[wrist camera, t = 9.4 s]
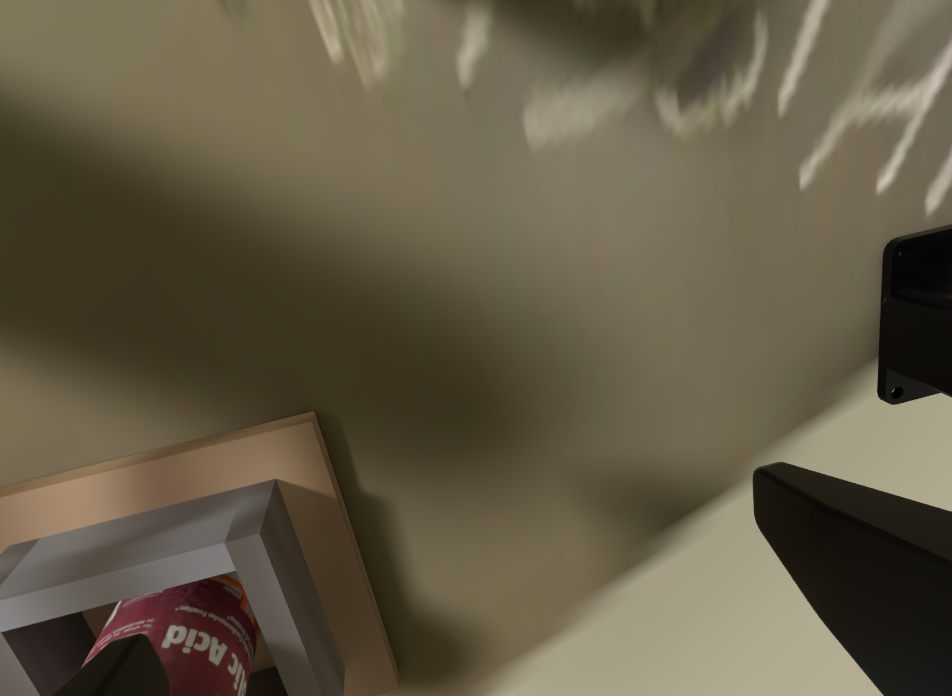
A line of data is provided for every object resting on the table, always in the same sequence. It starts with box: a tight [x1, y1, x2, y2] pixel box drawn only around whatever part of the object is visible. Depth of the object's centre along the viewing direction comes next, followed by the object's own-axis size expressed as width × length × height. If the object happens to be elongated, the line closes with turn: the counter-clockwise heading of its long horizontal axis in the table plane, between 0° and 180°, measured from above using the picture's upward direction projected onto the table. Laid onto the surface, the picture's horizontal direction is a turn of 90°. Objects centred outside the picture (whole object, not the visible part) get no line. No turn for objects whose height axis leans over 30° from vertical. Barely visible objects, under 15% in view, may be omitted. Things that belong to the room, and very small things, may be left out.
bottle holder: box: [0, 411, 399, 696], centre depth 20 cm, size 12×12×4 cm
